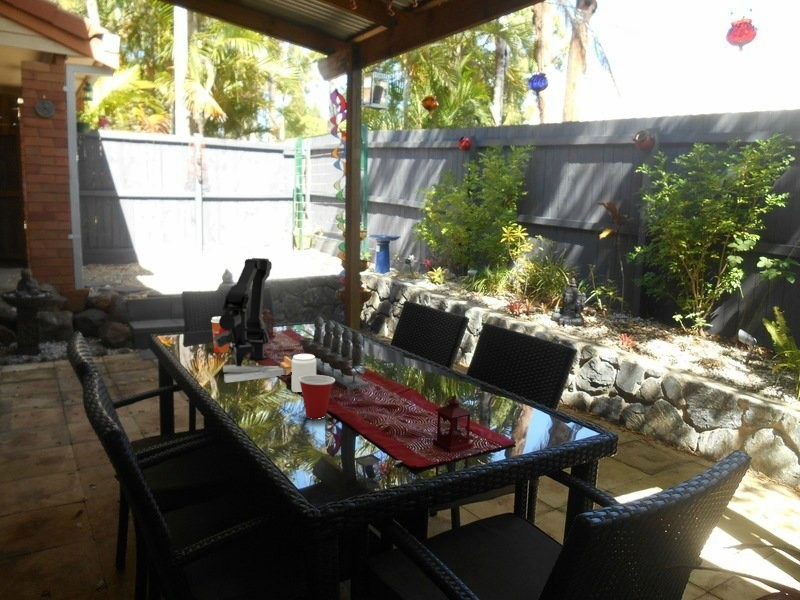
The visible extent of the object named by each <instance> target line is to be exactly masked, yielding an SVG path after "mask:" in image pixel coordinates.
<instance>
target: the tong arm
mask: <svg viewBox="0 0 800 600" xmlns="http://www.w3.org/2000/svg"><path fill="white" fill-rule="evenodd" d="M276 368H280V365H279V366H278V365H275V366H274V365H255V364H254V365H252V364H251V365H249V364H248V365H247V364H241V365H236V364H223V366H222V370H223V371H222V373H240V372H249V371H258V370H267V369H276Z"/></svg>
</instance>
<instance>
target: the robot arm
mask: <svg viewBox="0 0 800 600" xmlns="http://www.w3.org/2000/svg"><path fill="white" fill-rule="evenodd" d="M272 266H273V264H272V261H270V259H269V258H261V257H259V258H257V257H252V258H246V259H244V266H243V269H242V271H241V272H240V275H239V278H238V280H237V282H236V284H234V285H232V286H231V287H230V288H229V290H228V292H227V293H226V295H225V299H224V303H223V307H222V311H224V314H223V315H222V316H221V315H220V316H221V318H220V320H219V324H220V326H221V328H222V329H224V330H227V332H224V333H222V334H219V335H217V336H215V337H214V340H215V343H216V345H217V346H218V347H222V346H223V345H225V344H228V343H229V347H228V348H229V350H230V351H232V354H233V356H234V360H235V361H234V362H235V365H243V362H244V360H245V357H246V358H247V359H249V360H250V361H256V360H265V359H266V360H267V358H268V357H267V356H266V355H265V345H266V344H269V340H270V338H269V337H270V336H269V333H268V331H267V329H266V323H265V322H264V319H263V307H264V298H265V297H264V296H265V283H266V280H267V279H268V278H269V277H270V275H271V270H272V268H273V267H272ZM250 288H251V295H250V292H249V291H250ZM249 304H250V307H249ZM248 307H249V317H248V318H247V311H248ZM247 353H248V354H247Z"/></svg>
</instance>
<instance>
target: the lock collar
mask: <svg viewBox="0 0 800 600" xmlns="http://www.w3.org/2000/svg"><path fill="white" fill-rule="evenodd" d="M281 366H283V367H284V368H285V369H286V375H288V374H289V373H290V372H292V359H291V358H289V357H288V356H283V361H280V362H279V368H281Z"/></svg>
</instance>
